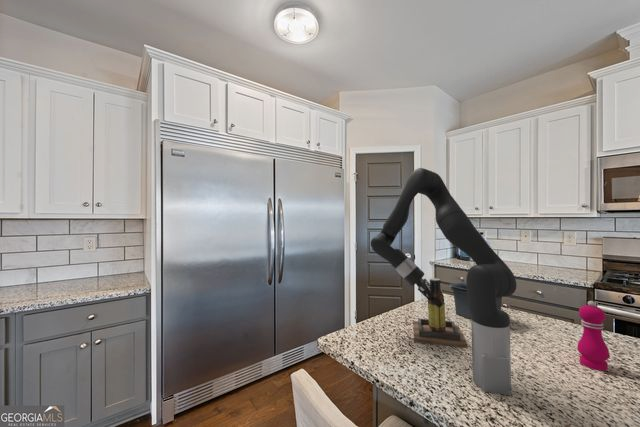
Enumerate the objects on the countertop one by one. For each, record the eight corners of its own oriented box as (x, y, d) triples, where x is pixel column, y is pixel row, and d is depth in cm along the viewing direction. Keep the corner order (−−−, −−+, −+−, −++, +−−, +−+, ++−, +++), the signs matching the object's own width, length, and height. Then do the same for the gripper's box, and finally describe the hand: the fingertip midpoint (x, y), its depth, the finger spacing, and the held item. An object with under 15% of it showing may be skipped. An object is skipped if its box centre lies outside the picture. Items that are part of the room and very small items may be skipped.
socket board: (467, 348, 99) (467, 338, 99) (414, 341, 105) (413, 332, 105) (458, 328, 116) (458, 320, 116) (413, 324, 122) (413, 316, 122)
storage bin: (447, 313, 135) (446, 284, 135) (467, 308, 142) (466, 280, 143) (491, 328, 116) (490, 294, 116) (512, 321, 124) (511, 289, 124)
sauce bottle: (442, 326, 113) (442, 277, 114) (448, 332, 107) (447, 280, 107) (426, 325, 114) (425, 277, 114) (430, 332, 108) (430, 280, 108)
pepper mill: (599, 373, 82) (597, 305, 83) (571, 361, 89) (570, 298, 90) (616, 369, 84) (614, 303, 85) (587, 358, 91) (585, 296, 92)
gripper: (414, 268, 108) (448, 302, 102) (417, 262, 121) (448, 293, 115) (400, 280, 110) (433, 315, 104) (405, 274, 123) (434, 304, 118)
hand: (441, 303), depth 110 cm, fingers closed on sauce bottle, 6 cm apart
